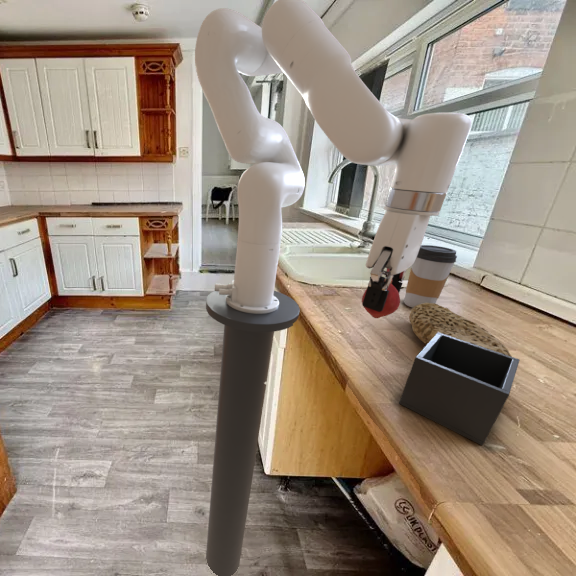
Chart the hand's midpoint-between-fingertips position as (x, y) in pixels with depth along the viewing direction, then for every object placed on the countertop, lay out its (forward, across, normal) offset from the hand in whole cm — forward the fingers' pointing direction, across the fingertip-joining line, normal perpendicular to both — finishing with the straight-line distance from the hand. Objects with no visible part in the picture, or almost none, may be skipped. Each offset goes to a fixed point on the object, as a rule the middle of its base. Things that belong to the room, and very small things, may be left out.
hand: (379, 303), depth 56 cm
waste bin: (+9, +7, +14) cm, 18 cm away
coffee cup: (+9, -32, 0) cm, 33 cm away
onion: (+3, 0, 0) cm, 3 cm away
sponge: (+9, -12, +10) cm, 18 cm away
